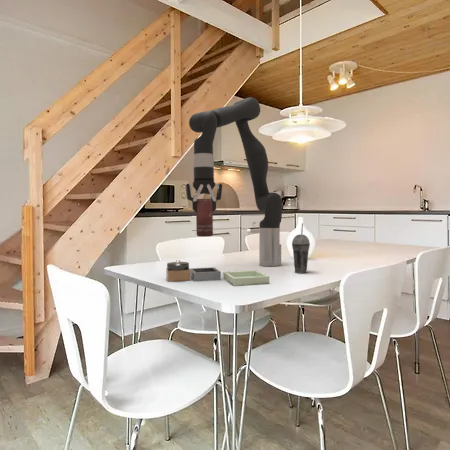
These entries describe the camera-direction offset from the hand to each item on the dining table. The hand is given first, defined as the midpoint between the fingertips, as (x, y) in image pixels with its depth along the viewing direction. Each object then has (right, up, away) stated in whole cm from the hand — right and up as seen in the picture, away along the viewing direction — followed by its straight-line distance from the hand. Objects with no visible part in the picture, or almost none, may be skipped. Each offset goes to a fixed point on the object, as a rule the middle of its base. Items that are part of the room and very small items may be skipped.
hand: (204, 211), depth 134 cm
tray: (+15, -25, -5) cm, 30 cm away
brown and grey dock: (-4, -25, 0) cm, 26 cm away
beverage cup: (+39, -25, +12) cm, 47 cm away
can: (0, -9, 0) cm, 9 cm away
